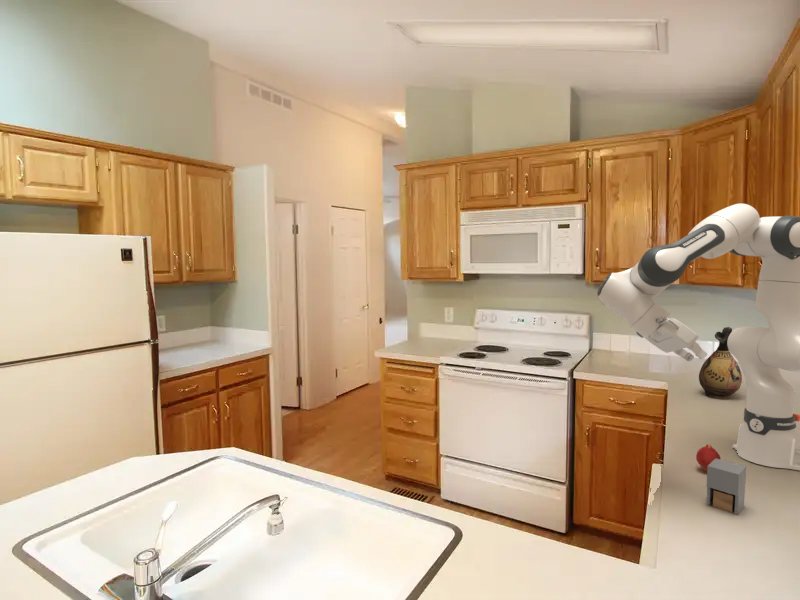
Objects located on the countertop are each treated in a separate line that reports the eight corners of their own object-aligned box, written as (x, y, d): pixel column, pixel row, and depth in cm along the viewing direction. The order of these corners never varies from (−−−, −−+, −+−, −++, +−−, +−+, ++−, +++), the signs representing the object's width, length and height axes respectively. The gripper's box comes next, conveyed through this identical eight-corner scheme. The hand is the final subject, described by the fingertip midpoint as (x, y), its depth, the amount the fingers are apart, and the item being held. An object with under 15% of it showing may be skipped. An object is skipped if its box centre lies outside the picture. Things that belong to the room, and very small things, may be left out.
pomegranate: (697, 465, 141) (698, 438, 140) (721, 470, 138) (722, 443, 137) (694, 472, 137) (695, 444, 136) (718, 477, 133) (719, 449, 132)
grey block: (713, 496, 123) (715, 458, 122) (743, 506, 118) (746, 466, 117) (705, 505, 118) (707, 465, 118) (736, 515, 114) (738, 474, 113)
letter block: (717, 500, 121) (718, 484, 121) (736, 506, 118) (737, 490, 118) (712, 506, 118) (713, 489, 118) (732, 512, 115) (733, 495, 115)
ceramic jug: (734, 404, 198) (738, 331, 196) (692, 396, 210) (696, 327, 207) (746, 395, 210) (750, 327, 207) (705, 388, 221) (709, 323, 219)
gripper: (672, 306, 118) (722, 345, 114) (650, 318, 137) (693, 352, 133) (654, 325, 118) (703, 364, 114) (635, 334, 138) (677, 369, 134)
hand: (697, 358), depth 124 cm, fingers open, 8 cm apart
